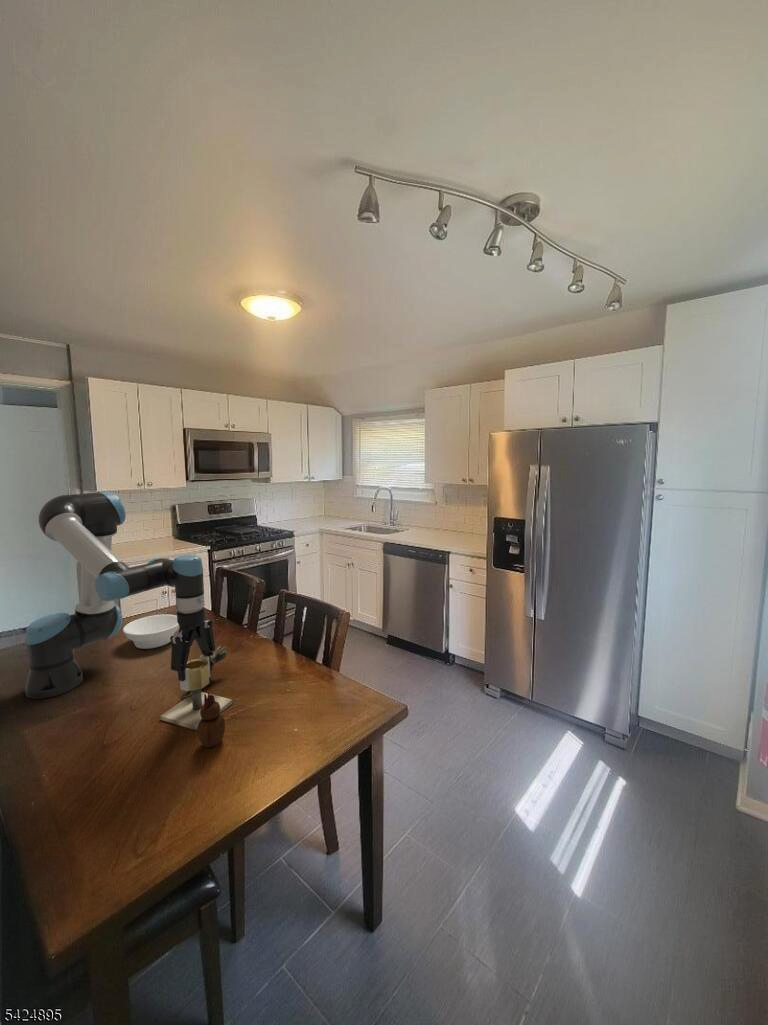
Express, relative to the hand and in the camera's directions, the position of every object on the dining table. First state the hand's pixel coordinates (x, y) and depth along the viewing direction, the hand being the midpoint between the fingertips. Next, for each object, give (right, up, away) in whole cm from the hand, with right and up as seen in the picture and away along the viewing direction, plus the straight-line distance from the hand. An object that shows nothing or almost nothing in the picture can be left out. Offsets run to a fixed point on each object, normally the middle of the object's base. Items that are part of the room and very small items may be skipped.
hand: (195, 682), depth 125 cm
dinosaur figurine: (-5, -8, +14) cm, 17 cm away
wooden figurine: (+10, -11, -13) cm, 20 cm away
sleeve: (0, 0, 0) cm, 0 cm away
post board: (0, -9, +1) cm, 9 cm away
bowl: (-39, -3, +48) cm, 61 cm away
